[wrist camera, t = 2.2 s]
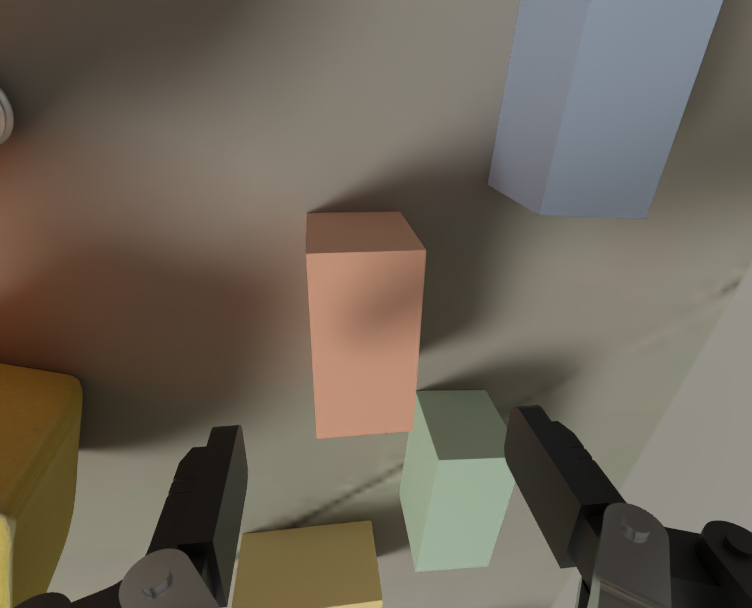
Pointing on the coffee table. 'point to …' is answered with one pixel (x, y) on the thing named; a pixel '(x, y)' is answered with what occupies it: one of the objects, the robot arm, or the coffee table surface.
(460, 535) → the sage brick
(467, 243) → the coffee table surface
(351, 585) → the ochre brick
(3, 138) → the lightbulb
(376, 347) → the terracotta brick
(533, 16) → the slate brick
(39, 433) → the flower pot
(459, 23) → the coffee table surface
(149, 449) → the coffee table surface
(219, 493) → the robot arm
